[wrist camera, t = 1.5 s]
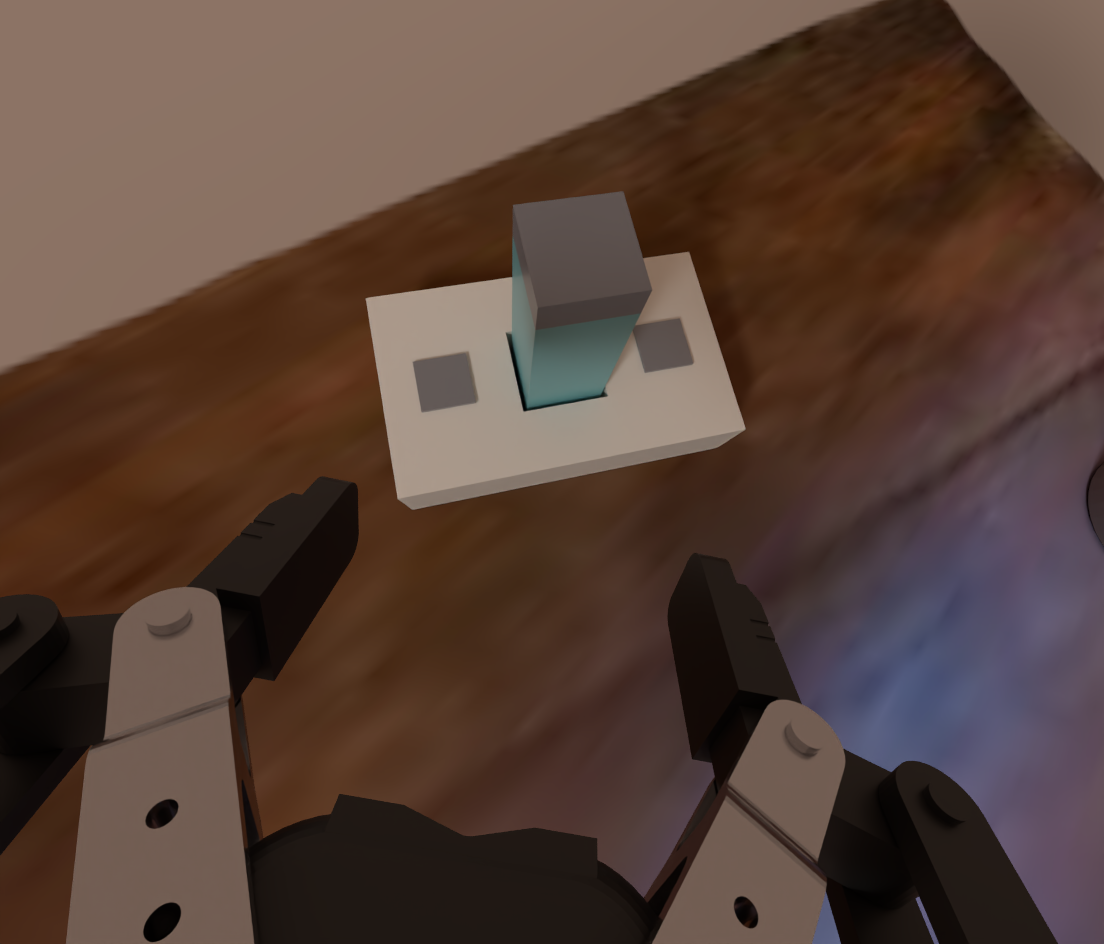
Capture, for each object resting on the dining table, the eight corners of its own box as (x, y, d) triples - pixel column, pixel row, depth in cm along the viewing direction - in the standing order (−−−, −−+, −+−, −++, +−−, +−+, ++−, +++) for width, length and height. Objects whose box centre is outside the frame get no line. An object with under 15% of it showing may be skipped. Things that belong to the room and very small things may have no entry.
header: (668, 289, 34) (690, 249, 30) (716, 447, 32) (747, 428, 28) (383, 333, 31) (364, 296, 27) (412, 509, 29) (397, 498, 25)
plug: (575, 355, 32) (623, 191, 19) (590, 415, 31) (652, 289, 18) (511, 366, 32) (513, 205, 18) (525, 428, 31) (537, 307, 17)
